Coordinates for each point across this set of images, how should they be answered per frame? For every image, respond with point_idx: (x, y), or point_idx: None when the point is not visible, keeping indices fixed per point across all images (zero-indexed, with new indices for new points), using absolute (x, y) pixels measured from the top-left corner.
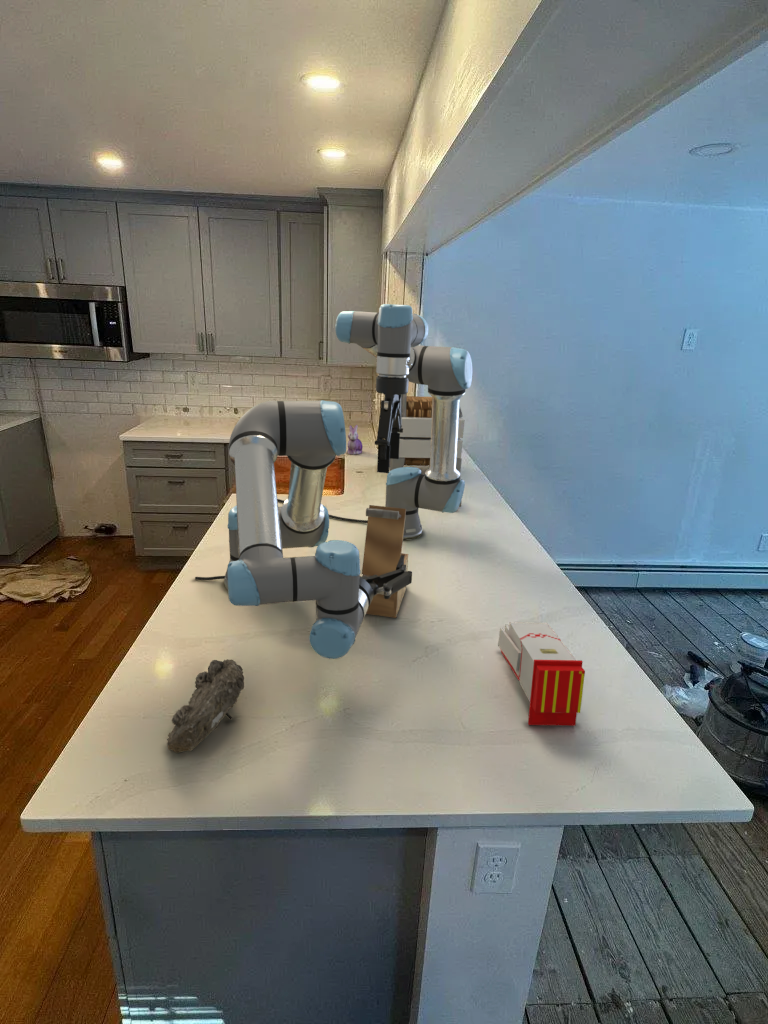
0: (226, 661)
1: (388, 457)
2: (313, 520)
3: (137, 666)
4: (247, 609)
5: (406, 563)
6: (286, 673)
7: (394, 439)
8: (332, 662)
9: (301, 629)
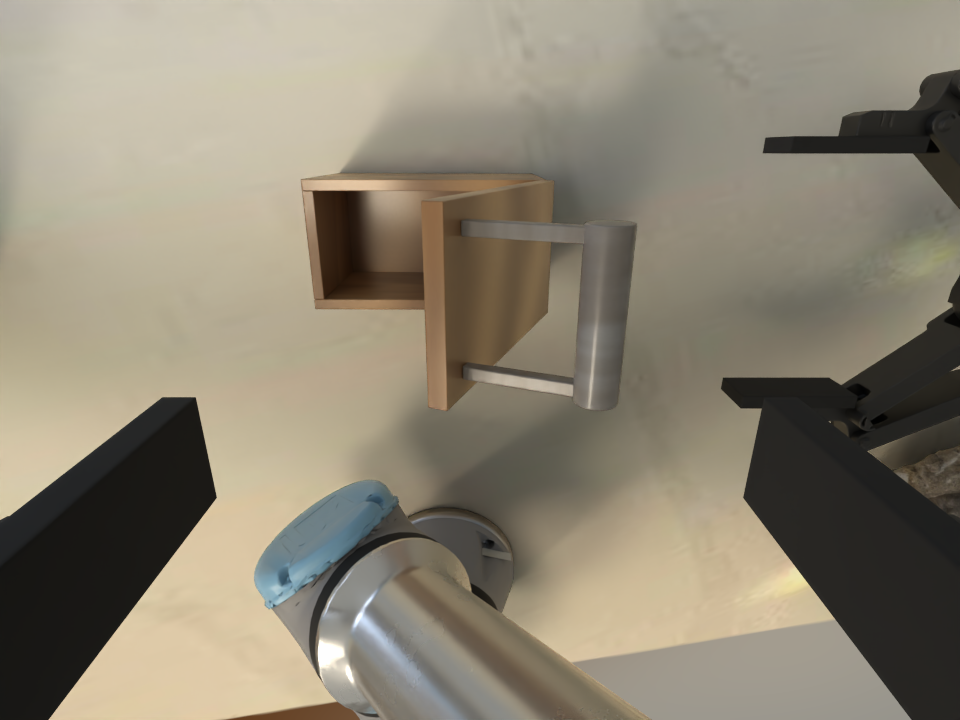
0: (937, 493)
1: (924, 505)
2: (439, 570)
3: (800, 612)
4: (570, 528)
5: (349, 178)
6: (812, 373)
7: (46, 614)
8: (766, 290)
9: (635, 396)
